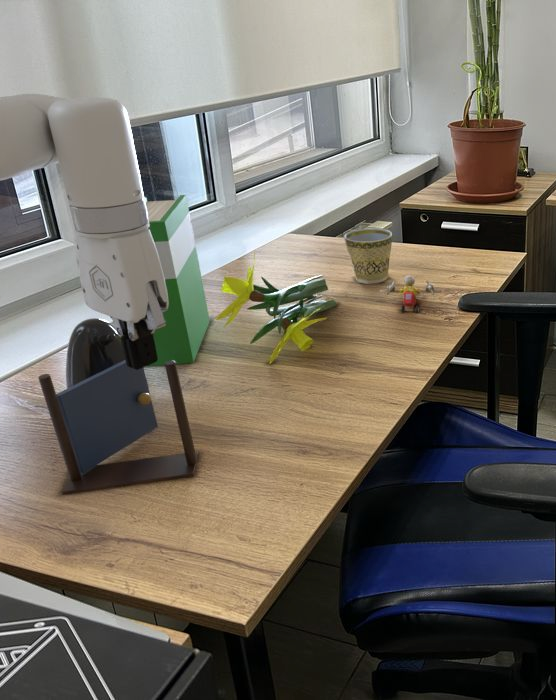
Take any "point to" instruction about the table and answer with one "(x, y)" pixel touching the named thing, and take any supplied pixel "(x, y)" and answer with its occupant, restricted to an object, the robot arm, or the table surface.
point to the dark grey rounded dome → (92, 350)
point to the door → (107, 413)
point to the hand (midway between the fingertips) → (142, 363)
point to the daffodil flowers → (275, 299)
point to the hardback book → (178, 282)
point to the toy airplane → (410, 293)
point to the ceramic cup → (369, 253)
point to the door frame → (126, 470)
